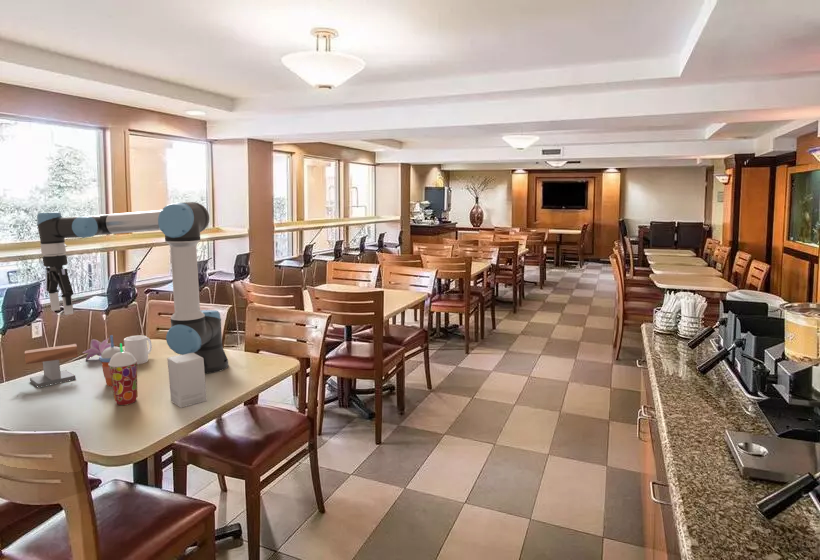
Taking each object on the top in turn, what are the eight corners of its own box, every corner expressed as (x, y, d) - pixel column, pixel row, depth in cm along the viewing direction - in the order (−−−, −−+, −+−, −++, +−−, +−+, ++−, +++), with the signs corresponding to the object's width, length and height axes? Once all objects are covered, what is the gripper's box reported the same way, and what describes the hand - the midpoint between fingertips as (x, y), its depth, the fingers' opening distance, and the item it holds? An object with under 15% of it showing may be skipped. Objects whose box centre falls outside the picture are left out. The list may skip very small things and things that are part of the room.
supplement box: (207, 401, 185) (204, 357, 183) (180, 408, 180) (176, 363, 177) (197, 394, 192) (193, 351, 190) (170, 400, 186) (166, 357, 184)
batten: (77, 356, 209) (76, 346, 208) (26, 364, 200) (24, 353, 199) (77, 354, 212) (76, 343, 211) (26, 361, 203) (24, 350, 203)
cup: (121, 363, 227) (119, 339, 226) (144, 355, 239) (142, 332, 237) (137, 365, 225) (134, 341, 223) (159, 357, 236) (157, 334, 234)
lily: (120, 357, 240) (111, 337, 241) (118, 353, 230) (107, 332, 230) (91, 370, 235) (81, 350, 236) (86, 367, 224) (76, 345, 225)
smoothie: (121, 397, 190) (115, 340, 187) (145, 397, 190) (140, 340, 186) (107, 406, 182) (100, 347, 178) (132, 406, 181) (126, 346, 178)
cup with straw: (122, 377, 210) (117, 331, 207) (135, 382, 205) (130, 334, 202) (97, 384, 203) (92, 336, 200) (109, 389, 198) (104, 340, 195)
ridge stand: (75, 379, 209) (73, 357, 208) (38, 387, 200) (35, 364, 199) (66, 373, 216) (64, 352, 214) (30, 381, 207) (27, 359, 206)
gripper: (78, 255, 198) (86, 313, 201) (54, 252, 214) (61, 306, 218) (54, 257, 193) (63, 318, 196) (31, 254, 209) (39, 310, 212)
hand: (62, 312), depth 207 cm, fingers open, 13 cm apart
